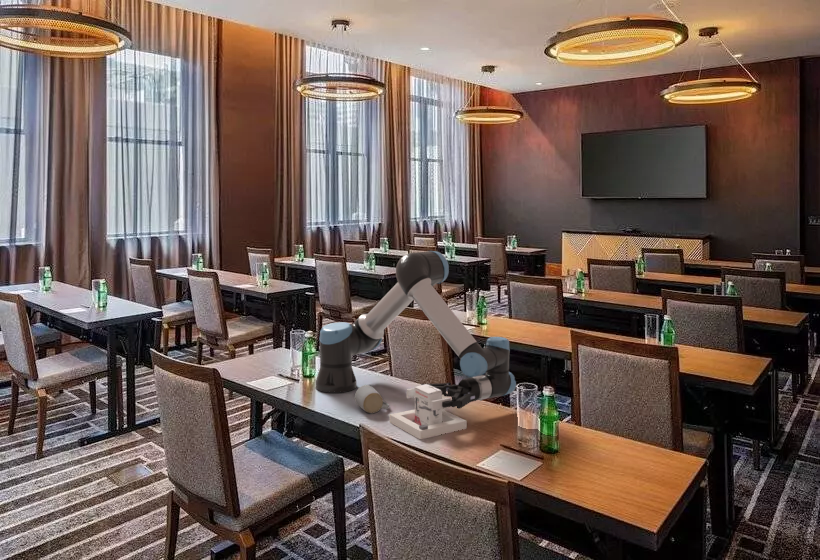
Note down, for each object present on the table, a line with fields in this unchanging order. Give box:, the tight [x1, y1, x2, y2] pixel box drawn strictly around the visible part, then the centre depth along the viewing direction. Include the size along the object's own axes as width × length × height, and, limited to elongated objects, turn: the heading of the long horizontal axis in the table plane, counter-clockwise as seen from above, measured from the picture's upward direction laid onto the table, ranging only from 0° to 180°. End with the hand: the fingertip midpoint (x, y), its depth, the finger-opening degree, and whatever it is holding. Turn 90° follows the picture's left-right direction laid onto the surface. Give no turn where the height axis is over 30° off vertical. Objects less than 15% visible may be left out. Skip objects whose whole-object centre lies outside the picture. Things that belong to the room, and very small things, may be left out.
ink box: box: [414, 383, 443, 426], centre depth 190 cm, size 9×5×12 cm, turn 34°
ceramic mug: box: [354, 384, 390, 414], centre depth 204 cm, size 11×8×8 cm
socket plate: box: [389, 408, 468, 440], centre depth 191 cm, size 17×17×3 cm
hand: (419, 399), depth 188 cm, fingers open, 13 cm apart
